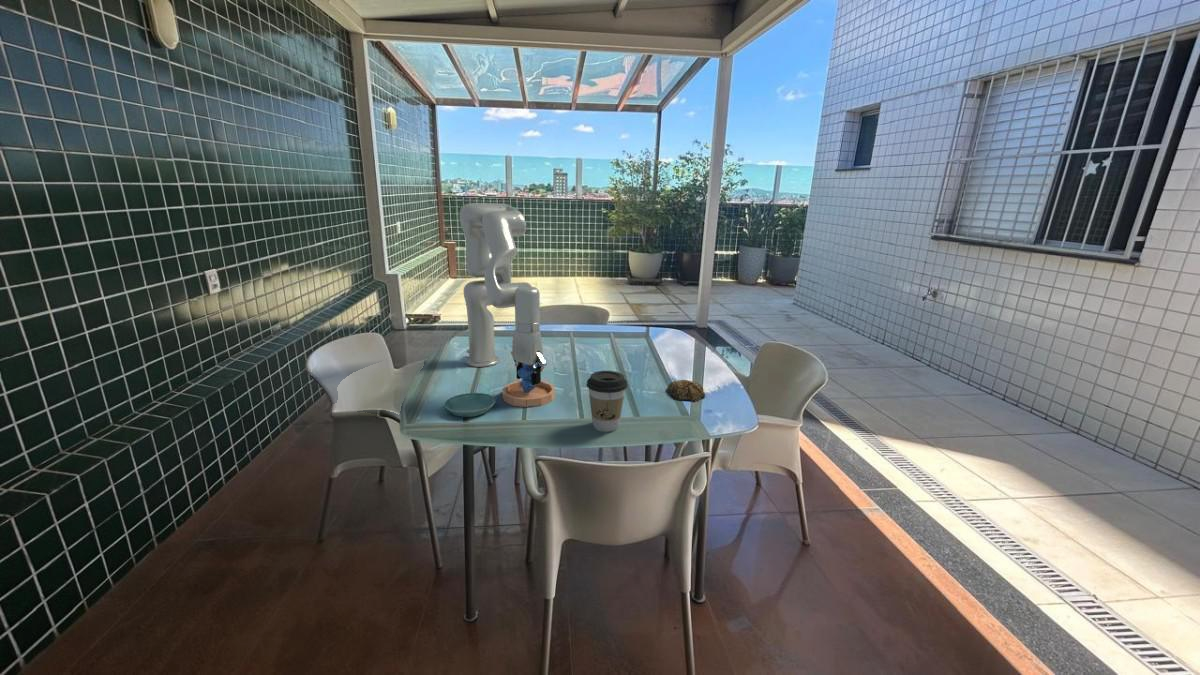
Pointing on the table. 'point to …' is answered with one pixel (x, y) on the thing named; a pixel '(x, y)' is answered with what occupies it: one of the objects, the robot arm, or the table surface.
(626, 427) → the table surface
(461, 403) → the saucer
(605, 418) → the coffee cup
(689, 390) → the bread roll
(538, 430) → the table surface
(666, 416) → the table surface
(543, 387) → the platter
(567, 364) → the table surface
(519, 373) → the grapes
